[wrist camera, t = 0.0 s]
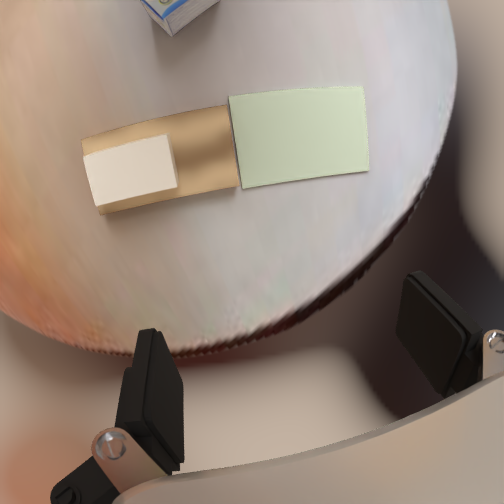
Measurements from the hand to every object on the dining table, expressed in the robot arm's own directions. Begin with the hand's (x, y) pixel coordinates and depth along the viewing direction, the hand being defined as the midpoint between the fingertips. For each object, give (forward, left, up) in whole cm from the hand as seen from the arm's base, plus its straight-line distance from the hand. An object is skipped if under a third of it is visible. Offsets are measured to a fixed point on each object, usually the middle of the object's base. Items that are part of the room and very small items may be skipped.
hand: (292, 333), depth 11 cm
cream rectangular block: (-3, -11, -29) cm, 31 cm away
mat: (-3, +11, -31) cm, 33 cm away
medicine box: (-22, -2, -32) cm, 38 cm away
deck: (-3, -8, -31) cm, 32 cm away
